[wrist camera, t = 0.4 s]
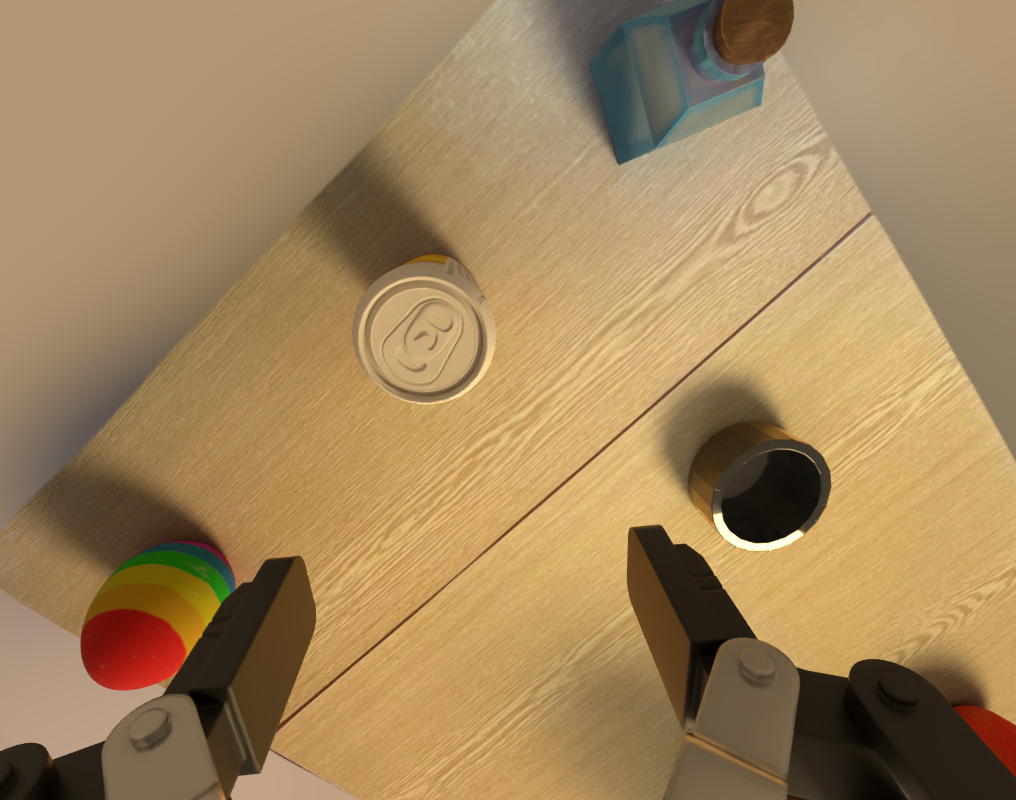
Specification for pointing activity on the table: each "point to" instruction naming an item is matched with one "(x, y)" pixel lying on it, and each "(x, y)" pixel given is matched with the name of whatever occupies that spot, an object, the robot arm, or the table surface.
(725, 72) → the perfume bottle
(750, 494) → the round brown bowl
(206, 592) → the striped foam ball
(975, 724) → the apple
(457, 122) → the table surface
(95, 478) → the table surface
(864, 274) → the table surface
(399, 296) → the beer can
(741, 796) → the robot arm
